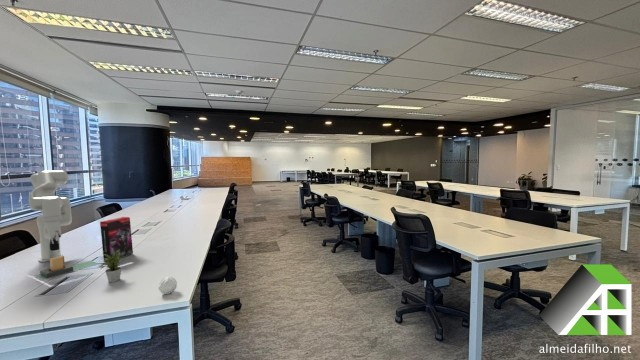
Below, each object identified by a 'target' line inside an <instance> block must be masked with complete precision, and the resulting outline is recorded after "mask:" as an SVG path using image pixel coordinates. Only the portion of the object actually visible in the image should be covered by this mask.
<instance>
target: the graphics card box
mask: <svg viewBox="0 0 640 360" xmlns="http://www.w3.org/2000/svg"><path fill="white" fill-rule="evenodd" d="M99 226H100V236H101V245H102V246H101V247H102V256H103V257H102V259H103V258H104V259H103V261H106V260H105V259H107V257H106V256H105V255H104V254H107V255H109V256H110V257H111V258H112V257H113V253H114V252H115V253H116V252H117V251H118V250H119V251H118V254H119V253H120V255H121V256H120V255H119V257H120V258H121V257H122V258H125V257H129V256H130V255H132V254H134V250H133V237H132V227H131V218H130V217H129V216H122V217H117V218H112V219H107V220H102V221H100V222H99ZM121 253H122V254H121ZM118 254H117V257H118ZM117 257H116V258H117Z"/></svg>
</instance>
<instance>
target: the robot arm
mask: <svg viewBox="0 0 640 360" xmlns="http://www.w3.org/2000/svg"><path fill="white" fill-rule="evenodd" d="M29 180H30V183H31V184H32V186H33V189H32V191H30V193H29V194H28V206H29V208H30V209H31V210H32V211H40V212H42V214H41V215H39V216H37V218H36V223H37V228H38V232H39V233H38V234H39V244H40V255H41V256H40V258H38V260H37V261H38V262H40V263H44V262H50V258H54V257H59V256H64V257H65V254H62V252H61V243H60V242H61V240H60V239H61V238H62V227H63V226H69V225H71V224H72V222H73V218H72V215H73V214H72V208H71V207H72V206H71V201H70V199H69V197H66V196H59V195H56V192H57V190H58V186H62V185H63V186H64V185H66V184H67V183H68V182H69V174H68V173H67V171H65V170H42V171H40V172H37V173H33V174H31V175H30V179H29Z"/></svg>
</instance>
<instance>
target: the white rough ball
mask: <svg viewBox="0 0 640 360" xmlns="http://www.w3.org/2000/svg"><path fill="white" fill-rule="evenodd" d="M177 286H178V281H177V280H176V278H174V277H173V276H166V277H163V278H162V279H161V280H160V281H159V283H158V290H159V292H160V293H161V294H164V295H168V294H172V293H173V292H174V291H175V290H176V288H178V287H177Z"/></svg>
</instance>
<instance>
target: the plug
mask: <svg viewBox="0 0 640 360" xmlns="http://www.w3.org/2000/svg"><path fill="white" fill-rule="evenodd" d="M65 264H66V263H65V255H64V256H59V257H54V258H50V261H49V267H50V269H51V271H54V270H58V269H62V268H64V267H65Z"/></svg>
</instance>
